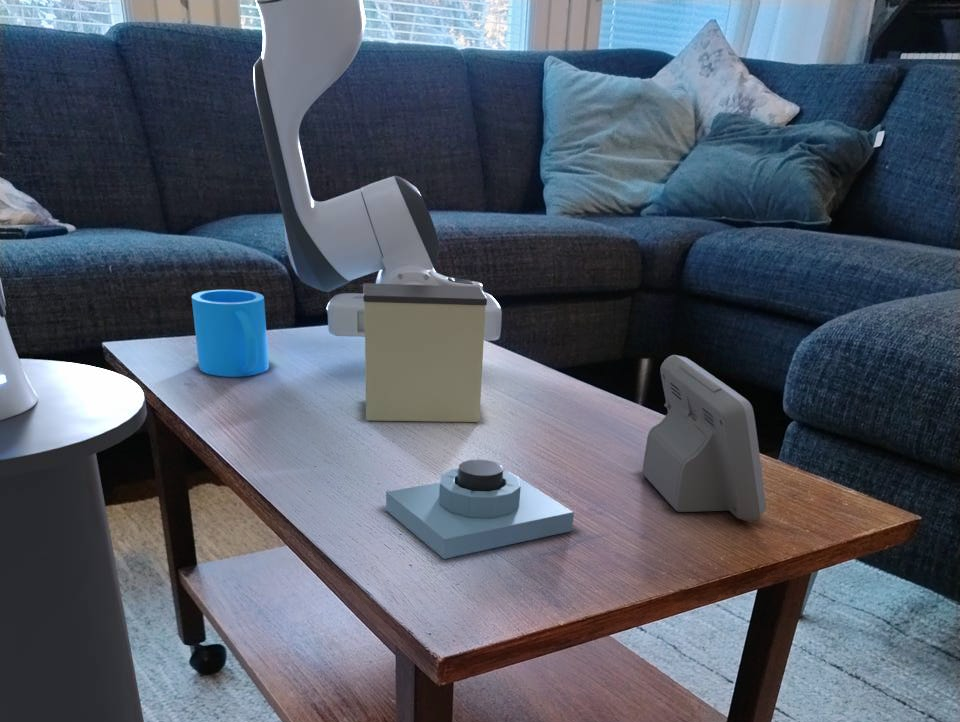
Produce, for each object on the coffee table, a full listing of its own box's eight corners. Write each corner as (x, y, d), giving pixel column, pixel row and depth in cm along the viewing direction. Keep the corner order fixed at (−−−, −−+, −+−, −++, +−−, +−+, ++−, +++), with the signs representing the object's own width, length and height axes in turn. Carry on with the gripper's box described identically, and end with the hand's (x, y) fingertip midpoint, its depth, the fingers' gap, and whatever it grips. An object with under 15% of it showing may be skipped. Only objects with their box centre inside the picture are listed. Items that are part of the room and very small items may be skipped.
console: (480, 422, 96) (487, 299, 90) (365, 421, 95) (363, 295, 88) (474, 404, 101) (479, 286, 95) (364, 403, 100) (363, 283, 93)
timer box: (443, 559, 68) (445, 516, 66) (385, 510, 75) (385, 470, 74) (572, 531, 74) (576, 491, 72) (506, 488, 81) (509, 450, 79)
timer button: (471, 497, 71) (472, 478, 70) (449, 481, 73) (450, 463, 73) (510, 490, 72) (511, 471, 72) (487, 474, 75) (488, 456, 74)
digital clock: (767, 531, 76) (797, 406, 70) (660, 525, 76) (682, 400, 70) (725, 462, 90) (747, 353, 84) (634, 457, 89) (650, 348, 84)
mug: (190, 361, 110) (183, 291, 106) (255, 356, 114) (250, 288, 110) (220, 388, 102) (213, 313, 97) (290, 381, 105) (285, 308, 101)
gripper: (326, 276, 109) (322, 300, 97) (493, 282, 111) (510, 306, 100) (327, 330, 112) (324, 359, 100) (490, 335, 114) (506, 364, 103)
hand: (418, 333), depth 100 cm, fingers closed
